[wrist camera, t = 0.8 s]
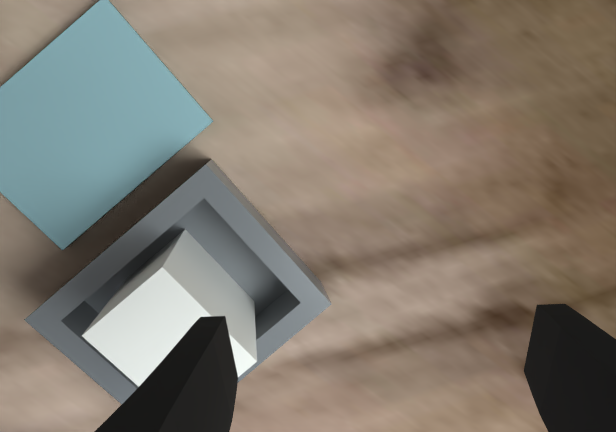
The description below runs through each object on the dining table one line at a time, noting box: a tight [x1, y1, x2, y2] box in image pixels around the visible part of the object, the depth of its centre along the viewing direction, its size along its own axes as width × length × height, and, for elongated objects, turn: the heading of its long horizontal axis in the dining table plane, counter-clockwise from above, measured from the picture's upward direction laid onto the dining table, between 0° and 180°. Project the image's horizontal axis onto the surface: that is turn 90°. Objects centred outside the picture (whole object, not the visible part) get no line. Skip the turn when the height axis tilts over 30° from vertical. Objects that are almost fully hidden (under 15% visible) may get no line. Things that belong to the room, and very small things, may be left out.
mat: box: [0, 0, 213, 250], centre depth 24 cm, size 11×8×1 cm
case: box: [25, 159, 331, 404], centre depth 25 cm, size 12×10×4 cm
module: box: [82, 230, 257, 387], centre depth 23 cm, size 4×6×7 cm
